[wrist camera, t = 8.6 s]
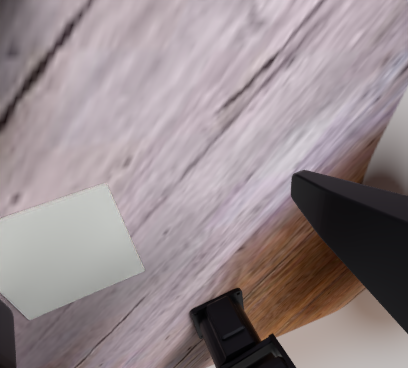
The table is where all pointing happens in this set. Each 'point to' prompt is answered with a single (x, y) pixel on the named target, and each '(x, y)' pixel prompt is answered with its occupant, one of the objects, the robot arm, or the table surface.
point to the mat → (64, 251)
